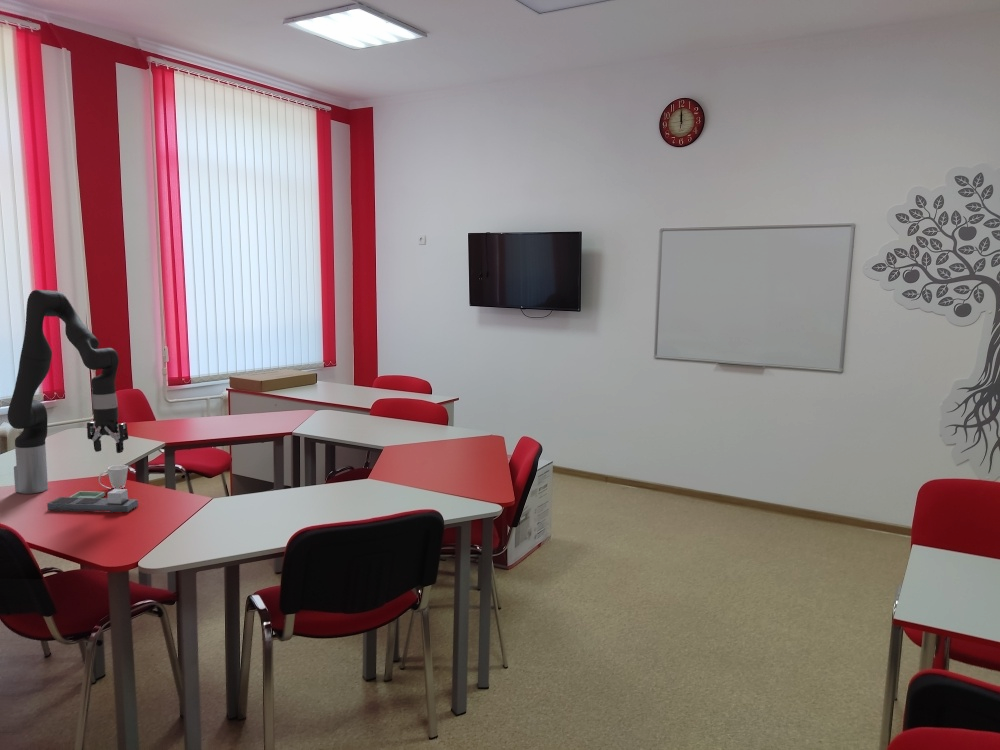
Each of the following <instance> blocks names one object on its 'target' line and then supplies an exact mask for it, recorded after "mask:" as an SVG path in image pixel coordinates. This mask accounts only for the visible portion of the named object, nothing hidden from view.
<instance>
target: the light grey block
mask: <svg viewBox="0 0 1000 750" xmlns="http://www.w3.org/2000/svg"><path fill="white" fill-rule="evenodd" d="M128 491H129V490H128V489H127V488H126V489H125V488H123V489H111V490H110V491H108V492H107V498H108V505H123V504H124V503H126V502H128V499H129V496H128V495H129V493H128Z"/></svg>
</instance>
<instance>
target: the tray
mask: <svg viewBox="0 0 1000 750" xmlns="http://www.w3.org/2000/svg"><path fill="white" fill-rule="evenodd" d="M104 496H105V497H106V491H92V490H91V491H88V490H87V491H85V490H80V491H78V492H76V493H74V494H72V495H71V496H69V497H78V498H102V497H103V498H105V497H104Z"/></svg>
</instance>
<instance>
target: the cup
mask: <svg viewBox="0 0 1000 750" xmlns="http://www.w3.org/2000/svg"><path fill="white" fill-rule="evenodd" d="M128 469H129V465H127V464H126V465H125V464H115V465H110V466H108V467H107V470H105V471H102V472H101V473H100V474H99V476H98V483H99V484H100V486H102V487H103V488H106V489H107V490H112V489H111V488H114V489H121V488H123V489H125V488H126V482H127V478H128ZM103 474H108V477H109V483H110V484H111V487H108V486H107V485H104V484H102V483H101V477H102V475H103ZM120 486H122V487H120ZM115 487H116V488H115ZM119 487H120V488H119ZM124 487H125V488H124Z"/></svg>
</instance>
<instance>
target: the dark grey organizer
mask: <svg viewBox="0 0 1000 750" xmlns="http://www.w3.org/2000/svg"><path fill="white" fill-rule="evenodd" d="M46 504H47V511H48V510H53V511H52V512H55V511H57V512H79V511H110V512H109V513H113V512H128V513H130V512H131V511H133V510H134V509H136V508H138V506H139V502H138V498H135V499H134V498H128V502H126V503H124V504H123V505H108V497H103V498H78V497H70V496H59V497H57V498H55V499H53V500H52V501H51V500H50V501H49V502H47V503H46ZM135 507H136V508H135ZM133 508H134V509H133ZM132 509H133V510H132ZM61 510H62V511H61ZM65 510H66V511H65ZM130 510H131V511H130ZM129 511H130V512H129Z"/></svg>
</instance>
